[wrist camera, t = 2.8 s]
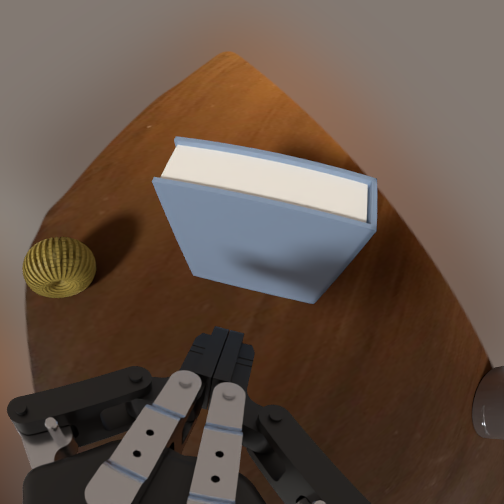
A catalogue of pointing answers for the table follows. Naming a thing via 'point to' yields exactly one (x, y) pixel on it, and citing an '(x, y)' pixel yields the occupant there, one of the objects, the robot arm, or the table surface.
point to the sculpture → (59, 267)
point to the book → (265, 217)
